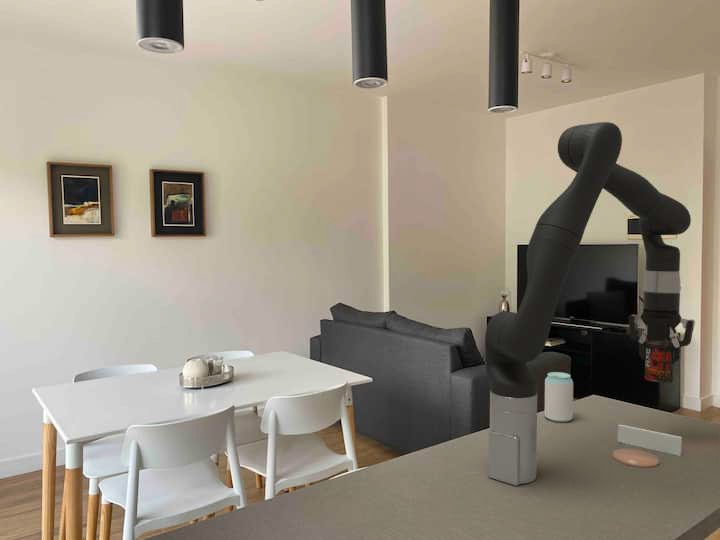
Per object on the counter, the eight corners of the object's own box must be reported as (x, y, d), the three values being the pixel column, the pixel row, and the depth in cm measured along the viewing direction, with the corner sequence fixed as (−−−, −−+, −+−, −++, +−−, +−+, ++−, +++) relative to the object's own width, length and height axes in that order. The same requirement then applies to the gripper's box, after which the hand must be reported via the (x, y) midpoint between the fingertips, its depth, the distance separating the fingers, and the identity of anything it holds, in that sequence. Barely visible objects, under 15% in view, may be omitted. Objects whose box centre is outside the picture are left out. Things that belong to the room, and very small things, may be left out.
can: (573, 424, 142) (573, 378, 141) (544, 421, 144) (545, 376, 143) (572, 416, 148) (572, 372, 148) (544, 413, 151) (545, 370, 150)
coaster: (653, 471, 113) (653, 468, 113) (607, 460, 119) (607, 457, 119) (663, 458, 120) (663, 455, 120) (620, 447, 126) (620, 445, 126)
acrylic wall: (680, 455, 121) (680, 438, 121) (617, 441, 129) (618, 425, 129) (681, 454, 122) (681, 436, 121) (618, 440, 130) (619, 424, 130)
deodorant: (638, 377, 132) (640, 315, 131) (656, 375, 134) (658, 314, 133) (661, 383, 126) (663, 319, 126) (678, 381, 129) (681, 317, 128)
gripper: (624, 289, 131) (622, 358, 132) (693, 293, 122) (691, 368, 123) (633, 287, 137) (630, 354, 138) (700, 291, 127) (697, 362, 128)
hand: (659, 360), depth 130 cm, fingers closed on deodorant, 6 cm apart
